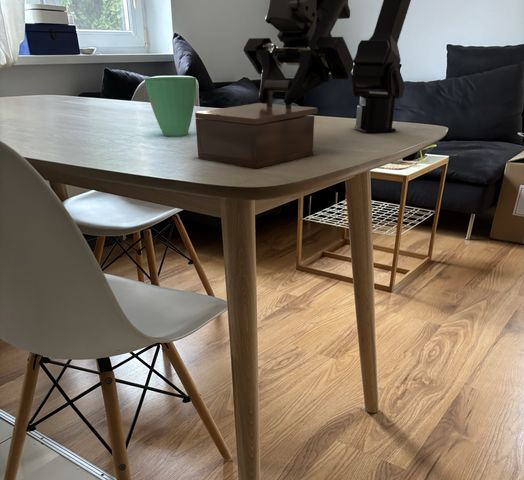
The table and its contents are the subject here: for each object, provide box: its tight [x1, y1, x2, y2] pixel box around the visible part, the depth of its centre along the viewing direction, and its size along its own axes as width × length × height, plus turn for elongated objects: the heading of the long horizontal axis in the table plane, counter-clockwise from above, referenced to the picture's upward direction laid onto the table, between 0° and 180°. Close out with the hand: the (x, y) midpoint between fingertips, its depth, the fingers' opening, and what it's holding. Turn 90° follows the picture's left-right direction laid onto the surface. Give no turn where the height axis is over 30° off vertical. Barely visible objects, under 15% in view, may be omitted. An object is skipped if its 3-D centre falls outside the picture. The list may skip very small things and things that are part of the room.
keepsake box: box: [195, 115, 315, 170], centre depth 80 cm, size 14×13×6 cm
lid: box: [194, 79, 319, 125], centre depth 78 cm, size 14×13×5 cm
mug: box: [144, 76, 197, 137], centre depth 102 cm, size 15×10×10 cm
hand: (272, 102), depth 80 cm, fingers closed on lid, 5 cm apart
